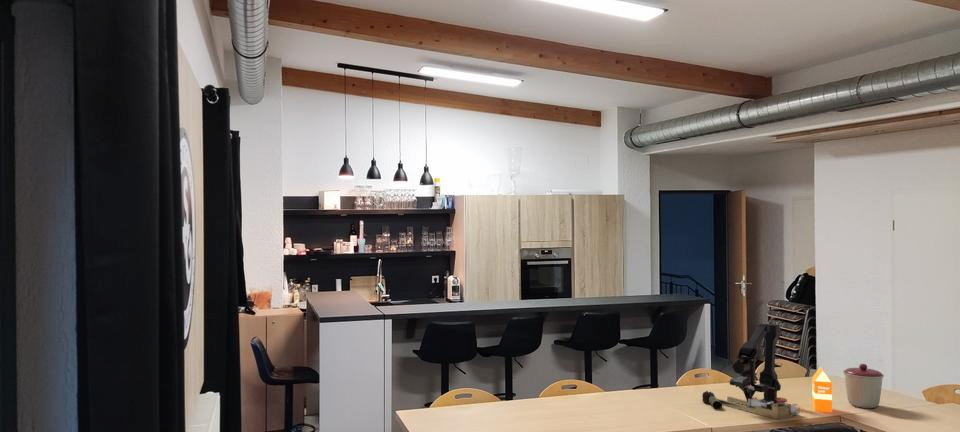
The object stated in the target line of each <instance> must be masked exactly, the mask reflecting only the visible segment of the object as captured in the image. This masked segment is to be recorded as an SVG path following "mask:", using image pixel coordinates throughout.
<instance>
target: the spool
mask: <svg viewBox="0 0 960 432" xmlns="http://www.w3.org/2000/svg"><path fill="white" fill-rule="evenodd" d="M773 405H775V402H774V401H764V400H761V399H760V398H758V397H756V396H753V397H752V398H748V406H747V407H751V408H755V407H756V406H759V407H762V408H766V409H770V410H772V406H773Z"/></svg>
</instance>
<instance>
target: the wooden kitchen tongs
mask: <svg viewBox="0 0 960 432" xmlns="http://www.w3.org/2000/svg"><path fill="white" fill-rule="evenodd" d="M717 399H718V400H719V401H720V402H721V403H722V406H726V407H728V408H729V407H730V408H732V407H733V409H736V408H737V410H740V409H741V411H743V410H744V412H747V411H748V413H750V412H752V413H751V414H754V413H755V415H758V414H759V415H758V416H761V415H762V417H765V416H766V417H765V418H769V419H772V420H777V421H779V420H783V419H787V418H791V417H792V416H797V415H799V414H800V413H801V407H800V405H798V404H797V403H789V402H788V399H787V398H785V397H777V398H776V401H778V402H777V404H774V405H773V406H772V410H770V409H766V408H762V407H759V406H756V407H755V408H751V407H748V402H747V400H746V399H740V398H736V397H733V396H727V399H725V400H724V399H722V398H721V399H720V398H717ZM738 403H739V404H738ZM741 404H743V405H741ZM745 405H747V406H745Z"/></svg>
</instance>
